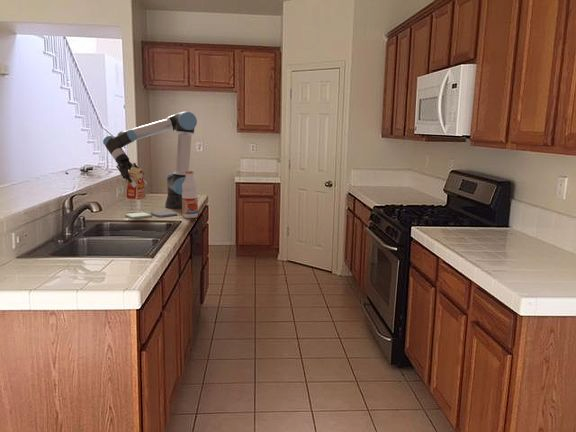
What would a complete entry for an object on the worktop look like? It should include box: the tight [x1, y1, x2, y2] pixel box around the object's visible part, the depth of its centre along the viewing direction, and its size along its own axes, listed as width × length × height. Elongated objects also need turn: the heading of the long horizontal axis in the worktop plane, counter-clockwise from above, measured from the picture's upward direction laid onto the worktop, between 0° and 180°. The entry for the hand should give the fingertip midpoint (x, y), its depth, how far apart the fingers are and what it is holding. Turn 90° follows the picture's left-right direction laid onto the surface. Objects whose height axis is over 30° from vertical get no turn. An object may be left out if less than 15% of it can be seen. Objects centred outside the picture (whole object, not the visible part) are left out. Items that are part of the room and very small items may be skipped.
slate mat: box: [150, 210, 178, 218], centre depth 304 cm, size 12×12×1 cm
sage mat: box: [124, 211, 153, 220], centre depth 298 cm, size 12×12×1 cm
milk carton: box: [124, 166, 146, 201], centre depth 293 cm, size 9×9×20 cm
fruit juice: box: [181, 170, 199, 219], centre depth 297 cm, size 9×9×28 cm
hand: (140, 185), depth 292 cm, fingers closed on milk carton, 8 cm apart
